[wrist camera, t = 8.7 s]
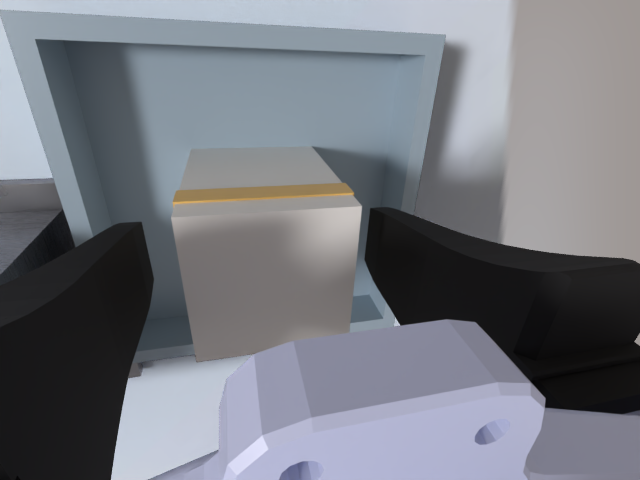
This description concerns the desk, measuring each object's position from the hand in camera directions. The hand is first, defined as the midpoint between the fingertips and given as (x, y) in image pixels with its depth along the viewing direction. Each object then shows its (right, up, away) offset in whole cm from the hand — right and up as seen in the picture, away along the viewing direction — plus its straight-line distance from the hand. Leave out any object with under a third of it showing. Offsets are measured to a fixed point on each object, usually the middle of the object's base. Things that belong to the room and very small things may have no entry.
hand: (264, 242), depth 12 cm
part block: (-1, +2, +3) cm, 4 cm away
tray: (-1, +2, +4) cm, 4 cm away
